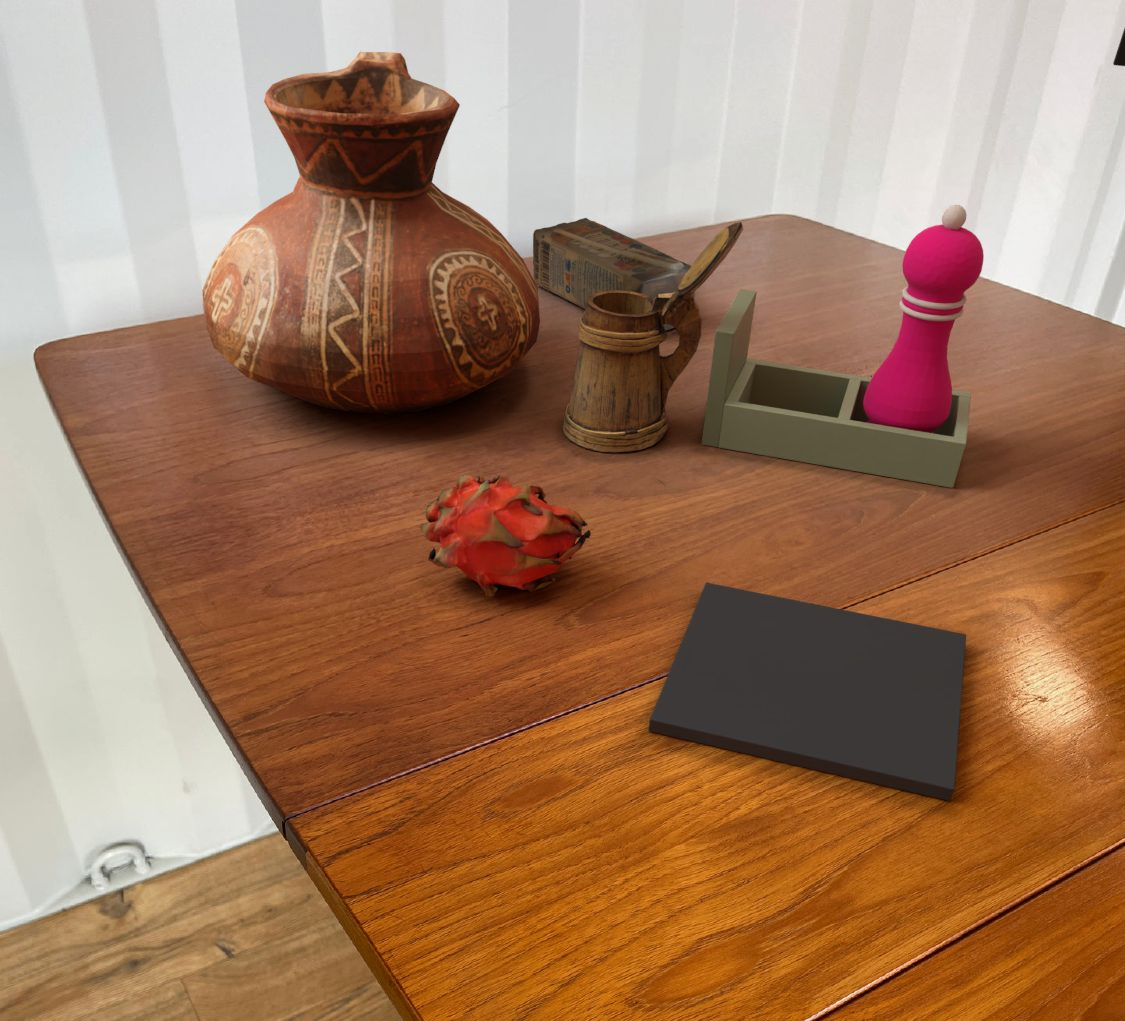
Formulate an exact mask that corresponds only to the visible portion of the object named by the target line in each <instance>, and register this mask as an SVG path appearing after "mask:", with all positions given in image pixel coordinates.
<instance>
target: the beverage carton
mask: <svg viewBox="0 0 1125 1021" xmlns="http://www.w3.org/2000/svg"><path fill="white" fill-rule="evenodd" d="M532 257H533V258H532V259H533V260H532V265H533V279H534V281H535V283H536V285H537V286H539V287H541V288H542V289H544V290H547V291H548V292H551V293H553V294H555V296H558V297H561V298H563V299H564V300H566V301H569V302H570V303H572V304H574V305H575V306H577V307H579V308H581V309H583V310H585V308H586V302H587V299H588V297H589V296H590V295H593V294H595V293H598V292H602V291H608V290H621V291H632V292H637V293H641V294H644V295H646V296H648V297H650V298H651V299H652V300H654V298H655V296H656V295H657V294H666V293H674V292H675V291H676V289H677V288H678V286H679V284H680V283H681V281H682V279H683V278H684V276H685V274H686V273H687V271H688V270H689V269H690V267H691V266H692V265H690V264H687V263H686V262H684V261H681V260H679V259H676V258H675V257H673V256H671V255H669V254H667V253H665V252H662V251H660V250H659V249H657V248H654V247H652V246H649V245H647V244H645V243H643V242H641V241H639V240H636V239H635V238H632V237H630V236H627V235H625V234H623V233H621V232H618V231H616V230H614V229H612V228H609V227H608V226H606V225H603V224H601V223H598V222H596V220H591V219H588V217H583V218H580V219H577V220H574V221H569V222H562V223H561V222H560V223H557V224H556V225H552V226H548V227H542V228H537V229H535V230H534V231H533V234H532ZM693 298H694V300H695V299H696V291H695V292H694V293H693ZM695 301H696V300H695ZM663 326H664V329H665V332H666V331H669V330H671V329H675V328H674V327H673V326H671V325H663Z"/></svg>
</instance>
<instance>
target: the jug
mask: <svg viewBox="0 0 1125 1021" xmlns="http://www.w3.org/2000/svg"><path fill="white" fill-rule="evenodd" d="M263 103H264V104H265V105H266V108H267V110H268V112H269V113H270V115H271V116H272V118H273V120H274V123H275V124H276V126H277V127H278V129H279V131H280V133H281V135H282V136H283V138H284V140H285V142H286V144H287V146H288V148H289V150H290V152H291V154H292V156H293V158H294V161H295V164H296V168H297V171H298V174H299V177H298V178H297V181H296V183H295V186H294V188H293V190H292V191H291V192H289V193H287V194H285V195H284V196H282V197H280V198H279V199H277V200H275V201H273V202H272V203H270V204H269V205H268V206H266V207H264V208H263V209H261V210H260V211H258V212H257V213H256V214H255V215H254V216H253V217H251V219H249V220H248V221H247V222H246V223H245V224H244V225H243V226H241V227H240V228H239V229H237V231H235V233H234V234H232V236H231V237H230V239H229V240H228V241H227V243H226V244H225V245H224V247H223V248H222V250H221V251H220V253H218V255H217V257H216V258H215V259H214V261H213V263H212V265H211V268H210V270H209V272H208V275H207V277H206V280H205V283H204V286H203V289H202V290H201V291H202V292H201V293H202V310H203V315H204V320H205V327H206V330H207V333H208V336H209V338H210V341H211V343H212V346H213V348H214V350H216V351H217V352H218V353H219V354H220V355H221V356H222V357H223V358H224V359H226V360H227V362H229V363H230V364H231V365H232V366H233V367H234V368H236V369H237V371H239V372H240V373H241V374H242V375H244V376H245V377H246V378H247V379H250V380H252V381H255V382H257V383H260V384H263V385H264V386H267V387H270V388H272V389H274V390H277V391H279V392H282V393H284V394H288V395H290V396H291V397H292V396H293V397H294V398H297V399H299V400H302V401H305V402H308V403H311V404H314V405H317V406H320V407H323V408H325V409H331V410H338V411H342V412H348V413H349V412H350V413H360V414H376V415H377V414H378V415H386V414H404V413H405V414H406V413H407V414H409V413H417V412H421V411H425V410H430V409H433V408H437V407H442V406H445V405H448V404H450V403H453V402H455V401H457V400H459V399H461V398H463V397H466V396H467V395H470V394H472V393H474V392H476V391H479V390H481V389H482V388H484V387H486V386H488V385H490V384H492V383H493V382H495V381H498V380H500V379H502V378H504V377H506V376H508V375H509V374H510V373H511V372H512V371H513V370H514V369H515V367H516V366H517V365H518V364H519V363H520V362H521V360H522V359H523V358H524V357H525V356H526V355H527V354H528V353H529V351H530V350H531V349H532V347H534V345H535V344H536V343H537V342H538V336H539V330H540V326H541V317H540V316H541V315H540V300H539V292H538V285H537V284H536V283H535V281H534V276H532V273H531V272H530V270H529V268H528V266H527V264H526V262H525V261H524V259H523V257H522V256H521V254H519V253H518V252H517V250H516V249H515V248H514V247H513V245H512V244H511V243H510V242H509V241H508V240H507V238H506V237H505V236H504V235H503V233H502V232H501V231H500V230H499V229H497V227H496V226H494V225H493V223H492V222H490V220H488V218H486V217H485V216H483V215H482V214H480V213H479V212H478V211H476V210H475V209H474V208H472V207H470V206H469V205H467V204H465V203H464V202H462V201H460V200H458V199H456V198H454V197H453V196H451V195H449V194H447V193H445V192H444V191H442V190H441V189H440V188H439V187H438V186H437V185H436V184H435V183H433V179H434V175H435V170H436V166H437V163H438V159H439V157H440V155H441V152H442V148H443V146H444V145H445V142H446V139H447V136H448V133H449V131H450V129H451V127H452V124H453V122H454V120H455V118H456V115H457V113H458V110H459V109H460V106H461V104H460V103H459V102H458V101H457V99H456V98H455V97H454V96H453V95H451V94H450V93H448V92H447V91H446V90H444V89H442V88H438V87H436V86H434V85H433V84H432V85H431V84H429V83H427V82H423V81H420V80H418V79H414V78H412V77H411V75H410V73H409V70H408V66H407V61H406V58H405V57H404V56H403V54H402V53H401V52H391V51H389V52H387V51H359V52H358V54H357V55H356V56H355V57H354V59H353V60H352V61H351V62H350V63H349V64H348V65H347V66H346V67H344V68H340V69H336V70H332V71H325V72H311V73H301V74H298V75H294V76H291V77H286V78H283V79H281V80H279V81H276V82H274V83H272V84H271V85H270V87H269V88H268V89H267V90H266V91H265V94H264V100H263Z"/></svg>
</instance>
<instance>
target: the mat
mask: <svg viewBox="0 0 1125 1021" xmlns="http://www.w3.org/2000/svg"><path fill="white" fill-rule="evenodd" d="M966 643H967V634H966V633H962V632H956V631H951V630H947V629H941V628H937V627H931V626H926V625H921V624H916V623H911V622H908V621H907V622H906V621H901V620H897V619H892V618H886V617H882V616H876V615H871V614H867V613H861V612H856V611H851V610H846V609H841V608H836V607H832V606H826V605H821V604H817V603H811V602H806V601H801V600H795V599H790V598H787V597H783V596H777V595H771V594H766V593H763V592H762V593H761V592H756V591H751V590H746V589H741V588H736V587H731V586H726V585H721V584H716V583H711V582H705V584H704V586H703V588H702V590H701V593H700V595H699V599H698V600H697V603H696V606H695V608H694V610H693V613H692V615H691V618H690V620H689V623H688V625H687V628H686V630H685V632H684V635H683V637H682V640H681V642H680V645H679V647H678V650H677V652H676V654H675V657H674V660H673V662H672V664H671V666H670V669H669V671H668V674H667V677H666V679H665V681H664V684H663V685H662V689H661V691H660V693H659V696H658V698H657V701H656V704H655V706H654V708H653V710H652V713H651V715H650V718H649V723H648V732H651V733H655V734H659V735H663V736H667V737H672V738H675V739H681V740H685V741H689V742H692V743H696V744H697V743H698V744H702V745H706V746H711V747H715V748H719V749H724V750H728V751H733V752H736V753H741V754H744V755H750V756H754V757H757V758H763V759H767V760H771V761H775V762H779V763H784V764H787V765H793V766H796V767H801V768H806V769H810V770H814V771H818V772H823V773H827V774H832V775H836V776H839V777H845V778H848V779H853V780H857V781H861V782H866V783H870V784H874V785H879V786H883V787H888V788H891V789H896V790H900V791H904V792H908V793H914V794H917V795H922V796H927V797H930V798H935V799H939V800H943V801H947V802H950V801H951V800H952V798H953V795H954V792H955V790H956V775H957V764H958V749H959V737H960V736H959V735H960V724H961V723H960V722H961V710H962V697H963V695H962V694H963V684H964V683H963V682H964V670H965V659H966V658H965V657H966V656H965V655H966V645H967V644H966Z"/></svg>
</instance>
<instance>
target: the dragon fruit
mask: <svg viewBox="0 0 1125 1021" xmlns="http://www.w3.org/2000/svg"><path fill="white" fill-rule="evenodd" d="M477 475H478V477H477V480H476V479H475V478H474V477H473V476H472V475H470V474H463V475H461V476H459V477H457V481H458V482H457V481H456V483H455V485H456V486H452V487H449V488H448V487H447V488H445V489H442V490H441V492H440V495H439V496H438V497H437V498H436V499H435V500H433V501H431V502H429V503H427V504H426V509H425V518H426V521H427V522H424V523H421V524H420V525H419V527H420V530H421V532H422V534H423V536H424V538H425V539H426V540H427V541H429V542H430V543H431V542H432V543H438V544H440V547H439V550H438V552H437V549H436V548H435V547H433V548H432V549H431V551H429V553H428V557H427V558H428V559H427V560H428V562H431V563H432V564H434V565H435V566H437V567H440V568H444V569H450V568H452V567H457V568H458V569H459V570H460V571H461V572H462V573H463V574H464V575H466V577H467V579H468V580H469V581H474V582H476V583H477V584H478V585H479V586H480V589H481V590H482V591H484V593H485V594H484V596H485V597H494V596H495V593H496V592H497V590H498V587H497V586H495V585H501V586H507V587H514V588H517V589H519V590H521V591H524V590H528V591H529V592H534V591H536V590H540V589H543V588H545V587H547V586H549V585H551V584H554V583H555V581H557V578H555V577H552V576H551V577H546V576H548V575H551V574H553V573H556V572H557V571H558V570H559V569H560V568H561V567H562V566H563V565H564V564H565V563H566V561H568V560H572V556H574V555H575V554H576V553H577V552H578V551H580V550H581V548H582V547H583V545H584V544H585V543H586V541H587V539H590V537H591V531H590V530H589V529H588V530H587V531H585V532H584V533H582V531H583V530H582V529H583V527H586V526H588V523H587V522H586V521H585V519H583V517H582V516H581V514H580V513H579V512H578V511H575V510H573V509H572V508H569V507H565V506H561V505H560V506H559V505H555V504H548V501H546V500H545V498H546V496H547V495H546V493H545V491H544V488H543V487H541V486H540V485H533V484H531V485H529V484H526V483H522V484H520V485H518V486H516V487H514V486H512V484H511V481H510V478H509V477H508V476H507V475H500V474H499V475H496V476H495V477H493V478H492V480H490V479H487V480H486V479H485V477H484V476H483V475H482V474H481V473H478V474H477ZM537 495H538V496H537ZM577 539H578V540H577Z"/></svg>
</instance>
